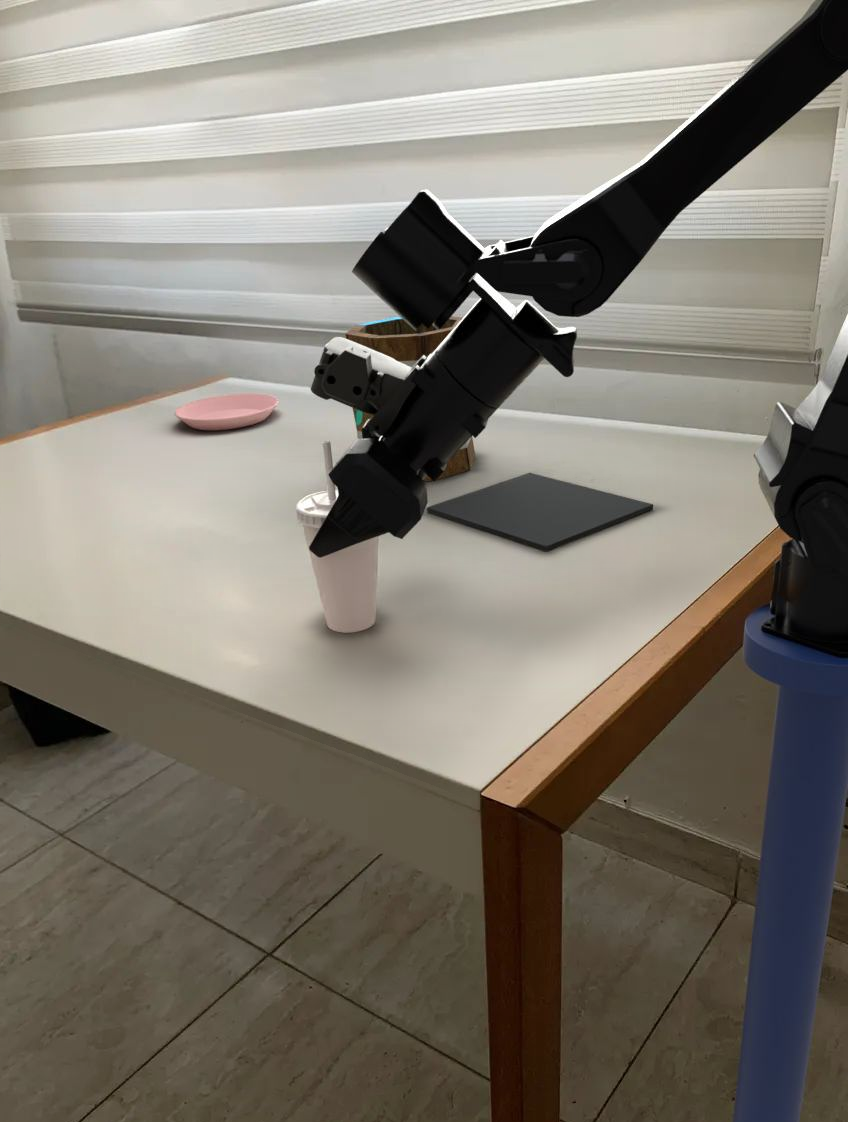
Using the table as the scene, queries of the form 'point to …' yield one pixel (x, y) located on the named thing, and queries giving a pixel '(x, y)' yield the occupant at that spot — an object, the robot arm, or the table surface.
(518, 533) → the mat
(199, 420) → the plate
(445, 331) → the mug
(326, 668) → the table surface
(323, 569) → the smoothie
